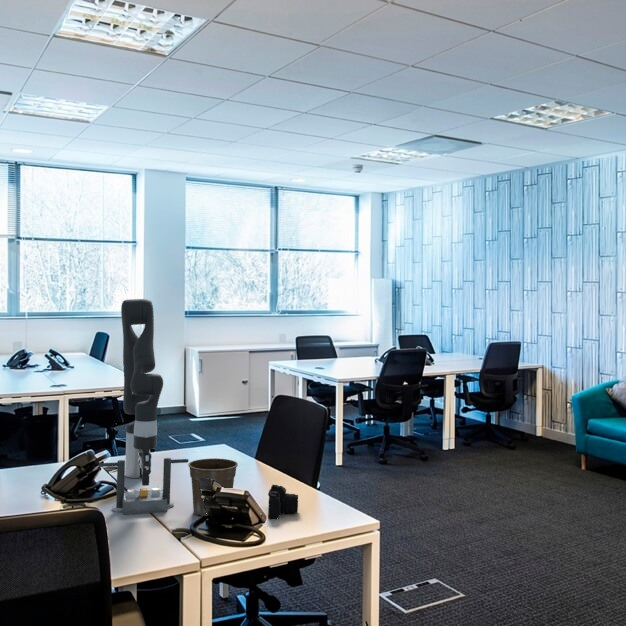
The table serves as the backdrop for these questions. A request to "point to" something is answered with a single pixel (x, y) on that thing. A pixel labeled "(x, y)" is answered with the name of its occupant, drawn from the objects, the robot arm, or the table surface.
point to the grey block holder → (144, 502)
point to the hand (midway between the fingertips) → (144, 481)
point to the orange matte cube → (143, 492)
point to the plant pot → (210, 477)
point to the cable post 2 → (169, 477)
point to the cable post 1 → (118, 482)
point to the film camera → (281, 502)
